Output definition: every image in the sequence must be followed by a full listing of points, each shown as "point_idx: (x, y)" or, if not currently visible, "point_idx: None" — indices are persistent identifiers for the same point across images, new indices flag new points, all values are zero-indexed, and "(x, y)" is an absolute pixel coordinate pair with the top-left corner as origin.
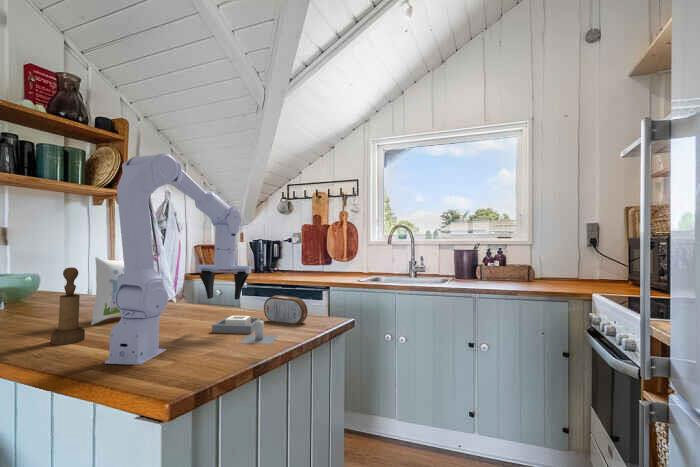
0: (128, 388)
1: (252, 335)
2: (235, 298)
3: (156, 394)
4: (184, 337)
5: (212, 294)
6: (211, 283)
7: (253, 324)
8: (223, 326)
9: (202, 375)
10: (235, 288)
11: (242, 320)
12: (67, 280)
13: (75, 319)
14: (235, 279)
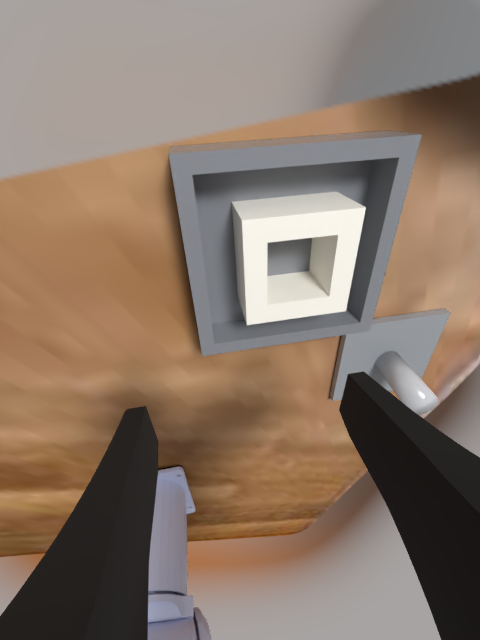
0: (236, 534)
1: (363, 333)
2: (347, 417)
3: (278, 531)
4: (124, 377)
5: (145, 436)
6: (127, 568)
7: (376, 301)
8: (252, 345)
9: (308, 497)
10: (387, 498)
11: (332, 310)
12: None
13: None
14: (439, 608)
